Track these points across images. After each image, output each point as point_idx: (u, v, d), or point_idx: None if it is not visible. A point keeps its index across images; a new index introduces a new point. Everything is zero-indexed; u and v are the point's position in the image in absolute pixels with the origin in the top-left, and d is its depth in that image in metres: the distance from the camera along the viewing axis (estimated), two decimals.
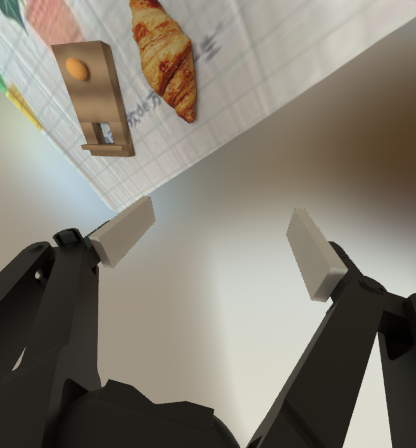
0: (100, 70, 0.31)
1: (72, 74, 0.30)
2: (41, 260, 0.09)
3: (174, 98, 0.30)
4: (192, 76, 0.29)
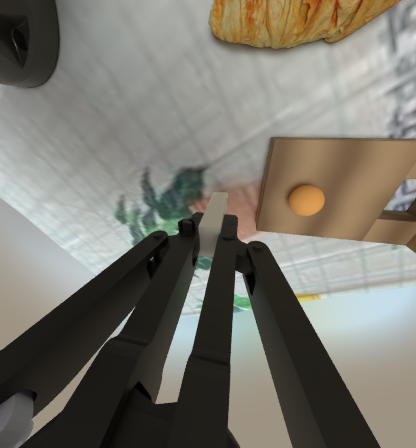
0: (313, 157, 0.16)
1: (319, 209, 0.16)
2: (156, 250, 0.09)
3: None
4: None
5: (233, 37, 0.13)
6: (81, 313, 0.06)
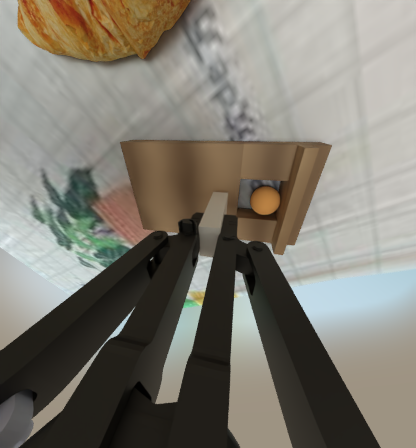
0: (157, 158, 0.17)
1: None
2: (156, 250, 0.09)
3: None
4: None
5: (48, 49, 0.14)
6: (81, 313, 0.06)
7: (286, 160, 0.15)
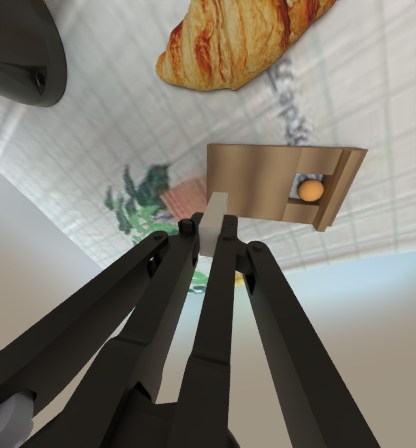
0: (234, 157, 0.23)
1: None
2: (156, 250, 0.09)
3: None
4: None
5: (170, 82, 0.20)
6: (81, 313, 0.06)
7: (333, 159, 0.20)
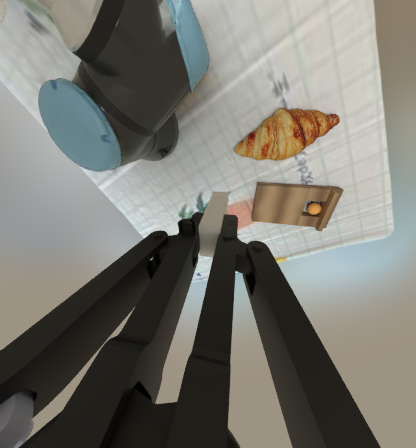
0: (272, 191, 0.42)
1: None
2: (156, 250, 0.09)
3: (315, 132, 0.32)
4: (303, 111, 0.32)
5: (241, 155, 0.39)
6: (81, 313, 0.06)
7: (326, 194, 0.40)
